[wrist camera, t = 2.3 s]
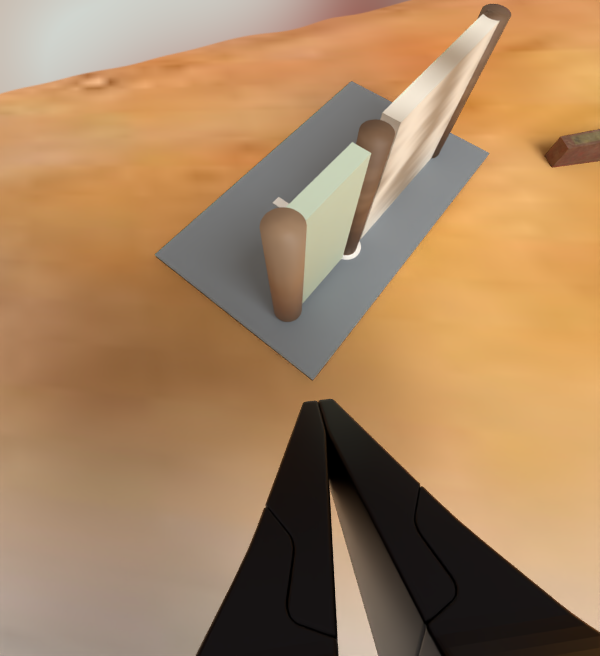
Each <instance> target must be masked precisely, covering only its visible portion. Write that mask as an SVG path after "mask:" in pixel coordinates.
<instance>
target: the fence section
mask: <svg viewBox="0 0 600 656" xmlns="http://www.w3.org/2000/svg"><path fill="white" fill-rule="evenodd" d="M510 17H511V12H510V11H509V10H508V9H507V8H506V7H504V6H502V5H498V4H488V5H485V6H484V7H483V8H482V10H481V12H480V14H479V17H478V19H477V20H476V21H475V22H474V23H473V24H472V25H471V26H470V27H469V28H468V29H467V30H466V31H465V32H464V33H463V34H462V35H461V36H460V37H459V38H458V39H457V40H456V41H455V42H454V43H453V44H452V45H451V46H450V47H449V48H448V49H447V50H446V51H445V52H444V53H443V54H442V55H441V56H440V57H439V58H437V59H436V60H435V61H434V62H433V63H432V64H431V65H430V66H429V67H428V68H427V69H426V70H425V71H424V72H423V73H422V74H421V75H420V76H419V77H418V78H417V79H416V80H415V81H414V82H413V83H412V84H411V85H410V86H409V87H408V88H407V89H406V90H405V91H404V92H403V93H402V94H401V95H400V96H399V97H398V98H397V99H396V100H395V101H394V102H393V103H392V104H391V105H390V106H389V107H388V108H387V109H385V110H384V111H383V112H382V116H381V119H380V120H377V119H373V120H368V121H366V122H364V123H363V124H362V125H361V126H360V128H359V132H358V137H357V142H356V145H358V146H360V147H362V148H363V149H365V150H367V151H369V152H370V153H371V156H370V160H369V163H368V167H367V171H366V174H365V178H364V181H363V185H362V189H361V192H360V196H359V199H358V203H357V207H356V210H355V214H354V218H353V221H352V225H351V228H350V232H349V236H348V239H347V243H346V247H345V250H344V254H343V255H351V254H353V253H354V252H355V251H356V249H357V246H358V243H359V240H360V239H361V238H362V237H363V236H364V235H365V234H366V233H367V232H368V230H369V229H370V228H371V227H372V226H373V225H374V223H375V222H376V221H377V220H378V219H379V218H380V217H381V215H382V214H383V213H384V212H385V211H386V210H387V208H388V207H389V206H390V205H391V204H392V203H393V202H394V200H395V199H396V198H397V197H398V196H399V195H400V193H401V192H402V191H403V190H404V189H405V188H406V187H407V185H408V184H409V183H410V182H411V181H412V180H413V178H414V177H415V176H416V175H417V174H418V173H419V172H420V170H421V169H422V168H423V167H424V166H425V165H426V163H427V162H428V161H429V160H430V159H431V158H435V157H437V156H438V155H439V153H440V151H441V149H442V147H443V145H444V143H445V141H446V140H447V138H448V136H449V134H450V132H451V130H452V128H453V126H454V124H455V122H456V120H457V118H458V116H459V115H460V113H461V111H462V109H463V107H464V105H465V103H466V101H467V99H468V97H469V95H470V93H471V92H472V90H473V88H474V86H475V84H476V82H477V80H478V78H479V76H480V74H481V72H482V70H483V69H484V67H485V65H486V63H487V61H488V59H489V57H490V55H491V53H492V51H493V49H494V47H495V46H496V44H497V42H498V40H499V38H500V36H501V34H502V32H503V30H504V28H505V26H506V24H507V22H508V21H509V19H510Z"/></svg>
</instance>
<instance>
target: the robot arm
mask: <svg viewBox="0 0 600 656" xmlns="http://www.w3.org/2000/svg"><path fill="white" fill-rule="evenodd" d="M329 485H330V488H329ZM330 489H331V493H332V496H333V500H334V503H335V507H336V510H337V514H338V517H339V521H340V524H341V528H342V531H343V535H344V538H345V541H346V545H347V548H348V552H349V555H350V559H351V562H352V566H353V569H354V573H355V576H356V580H357V583H358V587H359V590H360V594H361V597H362V601H363V604H364V608H365V611H366V614H367V618H368V621H369V625H370V628H371V632H372V635H373V639H374V642H375V646H376V649H377V653H378V656H600V632H599V631H597V630H596V629H594V628H593V627H591V626H590V625H588V624H587V623H585V622H584V621H582V620H581V619H580V618H578V617H577V616H575V615H574V614H573V613H571V612H570V611H569V610H567V609H566V608H565V607H564V606H562V605H561V604H560V603H558V602H557V601H556V600H555V599H553V598H552V597H551V596H550V595H549V594H547V593H546V592H545V591H544V590H542V589H541V588H540V587H539V586H538V585H536V584H535V583H534V582H533V581H531V580H530V579H529V578H528V577H527V576H525V575H524V574H523V573H522V572H520V571H519V570H518V569H517V568H516V567H514V566H513V565H512V564H511V563H509V562H508V561H507V560H506V559H505V558H503V557H502V556H501V555H500V554H498V553H497V552H496V551H495V550H494V549H492V548H491V547H490V546H489V545H487V544H486V543H485V542H484V541H483V540H481V539H480V538H479V537H478V536H477V535H475V534H474V533H473V532H472V531H471V530H470V529H468V528H467V527H466V526H465V525H464V524H463V523H461V522H460V521H459V520H458V519H457V518H456V517H455V516H453V515H452V514H451V513H450V512H449V511H448V510H447V509H446V508H445V507H444V506H443V505H442V504H441V503H439V502H438V501H437V500H436V499H435V498H434V497H433V496H432V495H431V494H430V493H429V492H428V491H427V490H426V489H425V488H424V487H423V486H421V487H420V483H419V482H418V481H417V480H416V479H414V478H413V477H412V476H411V475H410V474H409V473H408V472H407V471H406V470H405V469H404V468H403V467H402V466H401V465H400V464H399V463H398V462H397V461H396V460H395V459H394V458H393V457H392V456H391V455H390V454H389V453H388V452H387V451H386V450H385V449H384V448H383V447H382V446H381V445H380V444H378V443H377V442H376V441H375V440H374V439H373V438H372V437H371V436H370V435H369V434H368V433H367V432H366V431H365V430H364V429H363V428H362V427H361V426H360V425H359V424H358V423H357V422H356V421H355V420H354V419H353V418H352V417H351V416H350V415H349V414H348V413H347V412H346V411H345V410H343V409H342V408H341V407H340V406H339V405H338V404H337V403H336V402H335V401H334V400H333V399H326V400H320V401H319V402H317V401H309V402H304V403H303V405H302V407H301V410H300V413H299V415H298V418H297V421H296V423H295V426H294V429H293V432H292V434H291V437H290V440H289V442H288V445H287V448H286V451H285V453H284V456H283V459H282V461H281V464H280V467H279V470H278V472H277V475H276V478H275V480H274V483H273V486H272V489H271V491H270V494H269V497H268V499H267V502H266V507H265V508H264V510H263V512H262V515H261V518H260V520H259V523H258V526H257V528H256V531H255V533H254V536H253V538H252V541H251V543H250V546H249V548H248V550H247V552H246V555H245V557H244V559H243V561H242V563H241V565H240V567H239V570H238V572H237V574H236V576H235V578H234V580H233V582H232V584H231V586H230V588H229V590H228V592H227V594H226V596H225V598H224V600H223V602H222V604H221V606H220V608H219V610H218V612H217V614H216V616H215V618H214V620H213V622H212V624H211V626H210V628H209V630H208V632H207V634H206V636H205V638H204V640H203V642H202V644H201V646H200V648H199V650H198V652H197V654H196V656H338V639H337V619H336V600H335V582H334V563H333V544H332V526H331V507H330Z"/></svg>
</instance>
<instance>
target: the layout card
mask: <svg viewBox="0 0 600 656" xmlns="http://www.w3.org/2000/svg"><path fill="white" fill-rule="evenodd" d="M391 104H392V102H390V101H389V100H387V99H385V98H383V97H381V96H379V95H377V94H375V93H373V92H371V91H369V90H368V89H366V88H364V87H362V86H360V85H358V84H356V83H354V82H352V81H351V82H350V83H349V84H348V85H347V86H345V87H344V88H343V89H342V90H341V91H340V92H339V93H337V94H336V95H335V96H334V97H333V98H332V99H331V100H330V101H328V102H327V103H326V104H325V105H324V106H323V107H322V108H320V109H319V110H318V111H317V112H316V113H315V114H314V115H313V116H311V117H310V118H309V119H308V120H307V121H306V122H305V123H303V124H302V125H301V126H300V127H299V128H298V129H297V130H295V131H294V132H293V133H292V134H291V135H290V136H289V137H288V138H286V139H285V140H284V141H283V142H282V143H281V144H280V145H278V146H277V147H276V148H275V149H274V150H273V151H272V152H271V153H269V154H268V155H267V156H266V157H265V158H264V159H263V160H261V161H260V162H259V163H258V164H257V165H256V166H255V167H254V168H252V169H251V170H250V171H249V172H248V173H247V174H246V175H244V176H243V177H242V178H241V179H240V180H239V181H238V182H236V183H235V184H234V185H233V186H232V187H231V188H230V189H229V190H227V191H226V192H225V193H224V194H223V195H222V196H221V197H219V198H218V199H217V200H216V201H215V202H214V203H213V204H212V205H210V206H209V207H208V208H207V209H206V210H205V211H204V212H202V213H201V214H200V215H199V216H198V217H197V218H196V219H194V220H193V221H192V222H191V223H190V224H189V225H188V226H187V227H185V228H184V229H183V230H182V231H181V232H180V233H179V234H177V235H176V236H175V237H174V238H173V239H172V240H171V241H170V242H168V243H167V244H166V245H165V246H164V247H163V248H162V249H160V250H159V251H158V252H157V253H156V254H155V256H156V257H157V258H158V259H160V260H161V261H162V262H163V263H165V264H166V265H167V266H168V267H170V268H171V269H172V270H174V271H175V272H176V273H177V274H179V275H180V276H181V277H182V278H184V279H185V280H186V281H187V282H189V283H190V284H191V285H192V286H194V287H195V288H196V289H198V290H199V291H200V292H201V293H203V294H204V295H205V296H206V297H208V298H209V299H210V300H211V301H213V302H214V303H215V304H216V305H218V306H219V307H220V308H222V309H223V310H224V311H225V312H227V313H228V314H229V315H230V316H232V317H233V318H234V319H235V320H237V321H238V322H239V323H240V324H242V325H243V326H244V327H246V328H247V329H248V330H249V331H251V332H252V333H253V334H254V335H256V336H257V337H258V338H259V339H261V340H262V341H263V342H264V343H266V344H267V345H268V346H270V347H271V348H272V349H273V350H275V351H276V352H277V353H278V354H280V355H281V356H282V357H283V358H285V359H286V360H287V361H288V362H290V363H291V364H292V365H294V366H295V367H296V368H297V369H299V370H300V371H301V372H302V373H304V374H305V375H306V376H307V377H309V378H310V379H311V380H314V378H315V377H316V376H317V374H318V373H319V372H320V371H321V369H322V368H323V367H324V365H325V364H326V363H327V362H328V360H329V359H330V358H331V356H332V355H333V354H334V353H335V351H336V350H337V349H338V347H339V346H340V345H341V344H342V342H343V341H344V340H345V338H346V337H347V336H348V335H349V333H350V332H351V331H352V329H353V328H354V327H355V326H356V324H357V323H358V322H359V320H360V319H361V318H362V317H363V315H364V314H365V313H366V311H367V310H368V309H369V308H370V306H371V305H372V304H373V302H374V301H375V300H376V299H377V297H378V296H379V295H380V293H381V292H382V291H383V290H384V288H385V287H386V286H387V284H388V283H389V282H390V281H391V279H392V278H393V277H394V276H395V274H396V273H397V272H398V270H399V269H400V268H401V267H402V265H403V264H404V263H405V261H406V260H407V259H408V258H409V256H410V255H411V254H412V252H413V251H414V250H415V249H416V247H417V246H418V245H419V243H420V242H421V241H422V240H423V238H424V237H425V236H426V234H427V233H428V232H429V231H430V229H431V228H432V227H433V225H434V224H435V223H436V222H437V220H438V219H439V218H440V216H441V215H442V214H443V213H444V211H445V210H446V209H447V207H448V206H449V205H450V204H451V202H452V201H453V200H454V198H455V197H456V196H457V195H458V193H459V192H460V191H461V189H462V188H463V187H464V186H465V184H466V183H467V182H468V180H469V179H470V178H471V177H472V175H473V174H474V173H475V172H476V170H477V169H478V168H479V166H480V165H481V164H482V163H483V161H484V160H485V159H486V157H487V156H488V155H489V153H488V152H486V151H484V150H482V149H480V148H478V147H477V146H475V145H473V144H471V143H469V142H467V141H465V140H463V139H461V138H459V137H457V136H456V135H454V134H452V133H450V134H449V136H448V138H447V140H446V141H445V143H444V145H443V147H442V149H441V151H440V153H439V155H438V156H437V157H435V158H431V159H430V160H429V161H428V162H427V163H426V165H425V166H424V167H423V168H422V169H421V170H420V172H419V173H418V174H417V175H416V176H415V177H414V178H413V180H412V181H411V182H410V183H409V184H408V185H407V187H406V188H405V189H404V190H403V191H402V192H401V193H400V195H399V196H398V197H397V198H396V199H395V200H394V202H393V203H392V204H391V205H390V206H389V207H388V208H387V210H386V211H385V212H384V213H383V214H382V215H381V217H380V218H379V219H378V220H377V221H376V222H375V223H374V225H373V226H372V227H371V228H370V229H369V230H368V232H367V233H366V234H365V235H364V236H363V237H362V238H361V239H360V240H359V243H358V246H357V249H356V251H355V252H354V253H353V254H351V255H343V257H342V259H341V260H340V261H339V262H338V263H337V265H336V266H335V267H334V268H333V269H332V270H331V271H330V273H329V274H328V275H327V276H326V277H325V278H324V279H323V281H322V282H321V283H320V284H319V285H318V286H317V288H316V289H315V290H314V291H313V292H312V293H311V294H310V296H309V297H308V298H307V299H306V300H305V301H304V302H303V304H302V312H301V315H300V316H299V317H298V318H297V319H296V320H294V321H292V322H284V321H281V320H279V319H278V318H277V317H276V315H275V313H274V308H273V303H272V297H271V291H270V285H269V279H268V274H267V268H266V262H265V256H264V250H263V245H262V239H261V233H260V222H261V220H262V218H263V216H264V215H265V214H266V213H267V212H269V211H271V210H273V209H275V208H281V207H287V206H288V205H289V204H290V203H291V202H292V201H293V200H294V199H295V198H296V197H297V196H298V195H299V194H300V193H301V192H302V191H303V190H304V189H305V188H306V187H307V186H308V185H309V184H310V183H311V182H312V181H313V180H314V179H315V178H316V177H317V176H318V175H319V174H320V173H321V172H322V171H323V170H324V169H325V168H326V167H327V166H328V165H329V164H330V163H331V162H332V161H333V160H334V159H336V158H337V157H338V156H339V155H340V154H341V153H342V152H343V151H344V150H345V149H346V148H347V147H348V146H349V145H350V144H351V143H352V142H353V143H355V144H356V142H357V137H358V132H359V128H360V126H361V125H362V124H363V123H364V122H366V121H368V120H373V119H377V120H380V119H381V116H382V112H383V111H384V110H385V109H387V108H388V107H389V106H390V105H391Z"/></svg>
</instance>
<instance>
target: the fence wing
mask: <svg viewBox="0 0 600 656" xmlns="http://www.w3.org/2000/svg"><path fill="white" fill-rule="evenodd" d="M370 156H371V153H370V152H369V151H367V150H365V149H363V148H362V147H360V146H358V145H356V144H355V143H353V142H352V143H351V144H350V145H349V146H348V147H347V148H346V149H345V150H344V151H343V152H342V153H341V154H340V155H339V156H338V157H337V158H336V159H334V160H333V161H332V162H331V163H330V164H329V165H328V166H327V167H326V168H325V169H324V170H323V171H322V172H321V173H320V174H319V175H318V176H317V177H316V178H315V179H314V180H313V181H312V182H311V183H310V184H309V185H308V186H307V187H306V188H305V189H304V190H303V191H302V192H301V193H300V194H299V195H298V196H297V197H296V198H295V199H294V200H293V201H292V202H291V203H290V204H289V205H288V206H287V207H281V208H275V209H273V210H271V211H269V212H267V213H266V214H265V215H264V216H263V218H262V220H261V222H260V233H261V239H262V245H263V250H264V256H265V262H266V268H267V274H268V279H269V285H270V291H271V297H272V303H273V308H274V313H275V315H276V317H277V318H278V319H279V320H281V321H284V322H292V321H294V320H296V319H297V318H298V317H299V316H300V315H301V312H302V304H303V302H304V301H305V300H306V299H307V298H308V297H309V296H310V294H311V293H312V292H313V291H314V290H315V289H316V288H317V286H318V285H319V284H320V283H321V282H322V281H323V279H324V278H325V277H326V276H327V275H328V274H329V273H330V271H331V270H332V269H333V268H334V267H335V266H336V265H337V263H338V262H339V261H340V260H341V259H342V257H343V254H344V250H345V247H346V243H347V239H348V236H349V232H350V228H351V225H352V221H353V218H354V214H355V210H356V207H357V203H358V199H359V196H360V192H361V189H362V185H363V181H364V178H365V174H366V171H367V167H368V163H369V160H370Z"/></svg>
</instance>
